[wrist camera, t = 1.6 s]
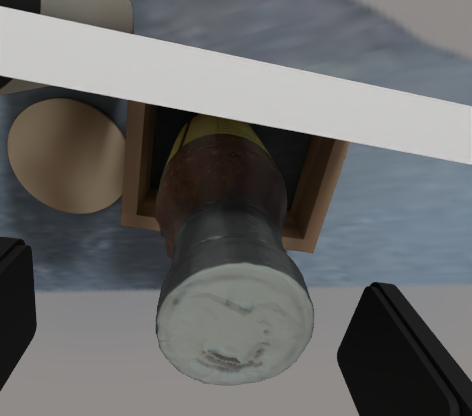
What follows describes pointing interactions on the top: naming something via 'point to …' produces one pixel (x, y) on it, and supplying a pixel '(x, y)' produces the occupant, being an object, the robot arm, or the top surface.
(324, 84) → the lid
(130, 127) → the wooden open box
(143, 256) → the top surface
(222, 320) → the sauce bottle
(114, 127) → the disc
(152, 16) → the top surface
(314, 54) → the top surface
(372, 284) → the robot arm
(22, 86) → the stoneware storage canister
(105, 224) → the top surface
